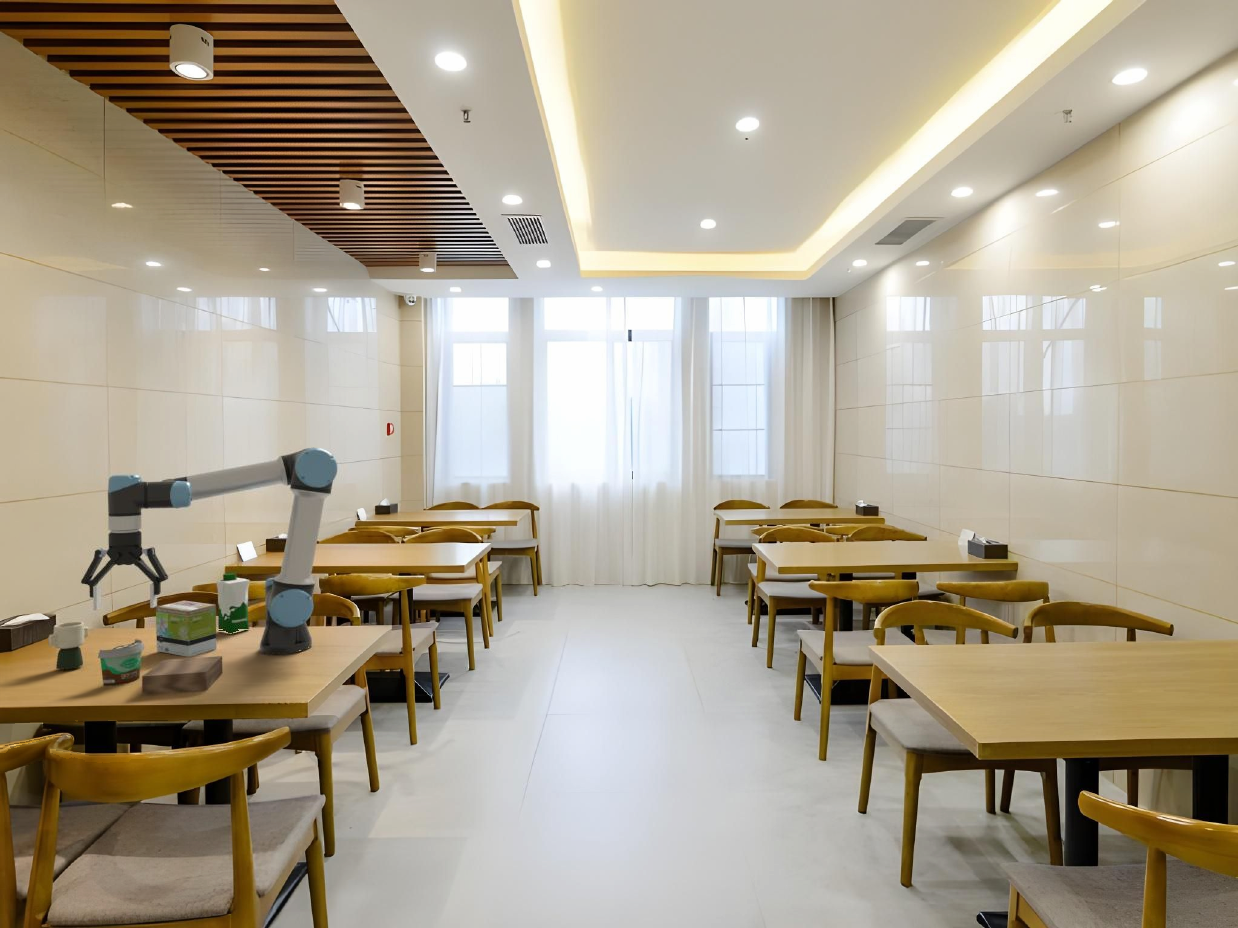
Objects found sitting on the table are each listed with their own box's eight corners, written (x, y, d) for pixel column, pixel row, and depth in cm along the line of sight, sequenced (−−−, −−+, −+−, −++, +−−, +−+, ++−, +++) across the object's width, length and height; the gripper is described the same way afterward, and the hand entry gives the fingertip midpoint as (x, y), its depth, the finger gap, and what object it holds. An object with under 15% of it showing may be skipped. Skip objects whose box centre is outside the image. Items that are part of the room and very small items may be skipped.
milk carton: (238, 627, 260) (237, 571, 260) (253, 630, 255) (252, 573, 255) (214, 632, 253) (213, 575, 252) (228, 635, 248) (228, 577, 247)
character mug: (80, 662, 218) (79, 619, 217) (97, 664, 215) (96, 620, 215) (41, 672, 207) (40, 627, 207) (58, 675, 205) (57, 629, 205)
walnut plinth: (222, 673, 206) (222, 655, 206) (206, 690, 192) (206, 671, 192) (163, 677, 203) (162, 659, 203) (142, 695, 188) (142, 676, 188)
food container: (117, 688, 193) (117, 651, 193) (98, 687, 195) (97, 650, 194) (155, 674, 205) (155, 639, 205) (137, 673, 207) (136, 638, 206)
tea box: (155, 652, 228) (154, 605, 227) (184, 644, 237) (184, 599, 237) (188, 657, 222) (188, 609, 222) (217, 649, 231) (217, 603, 231)
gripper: (180, 528, 206) (181, 602, 206) (79, 530, 200) (79, 607, 200) (171, 531, 199) (171, 608, 199) (65, 533, 192) (66, 613, 193)
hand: (125, 608), depth 200 cm, fingers open, 13 cm apart
